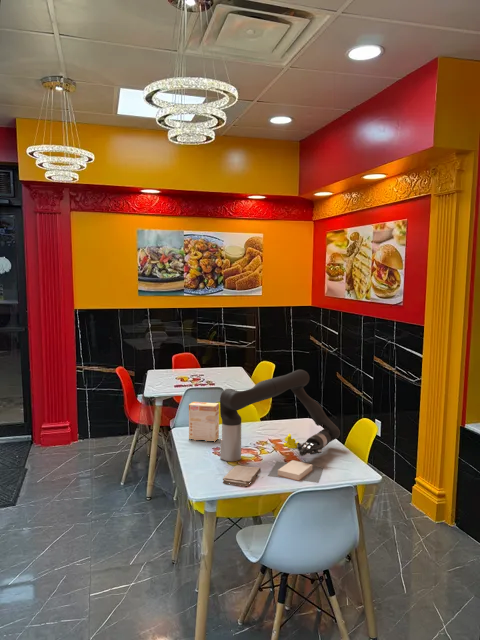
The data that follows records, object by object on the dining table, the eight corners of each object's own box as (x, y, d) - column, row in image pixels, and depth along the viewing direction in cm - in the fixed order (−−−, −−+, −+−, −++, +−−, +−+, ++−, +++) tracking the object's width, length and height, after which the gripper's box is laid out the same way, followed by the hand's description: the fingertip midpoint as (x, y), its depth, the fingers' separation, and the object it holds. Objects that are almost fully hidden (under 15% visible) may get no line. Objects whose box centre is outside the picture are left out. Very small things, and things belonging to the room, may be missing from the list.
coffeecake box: (219, 438, 257) (219, 403, 255) (215, 442, 250) (215, 406, 249) (193, 436, 261) (193, 401, 259) (188, 440, 254) (188, 404, 252)
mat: (267, 477, 205) (267, 475, 205) (276, 463, 222) (276, 461, 222) (318, 484, 198) (318, 482, 198) (324, 468, 215) (324, 467, 215)
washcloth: (221, 484, 198) (221, 477, 198) (235, 469, 215) (235, 462, 215) (248, 488, 195) (248, 481, 194) (260, 472, 212) (260, 465, 211)
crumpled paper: (299, 450, 239) (299, 435, 239) (283, 449, 241) (283, 434, 240) (299, 446, 245) (299, 431, 245) (284, 445, 246) (284, 431, 246)
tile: (292, 465, 217) (277, 475, 205) (292, 460, 217) (277, 469, 205) (312, 470, 212) (298, 480, 200) (312, 464, 211) (298, 475, 200)
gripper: (304, 432, 230) (288, 442, 216) (329, 437, 223) (315, 448, 209) (303, 447, 231) (287, 458, 216) (329, 453, 224) (314, 464, 209)
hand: (301, 453), depth 213 cm, fingers closed
